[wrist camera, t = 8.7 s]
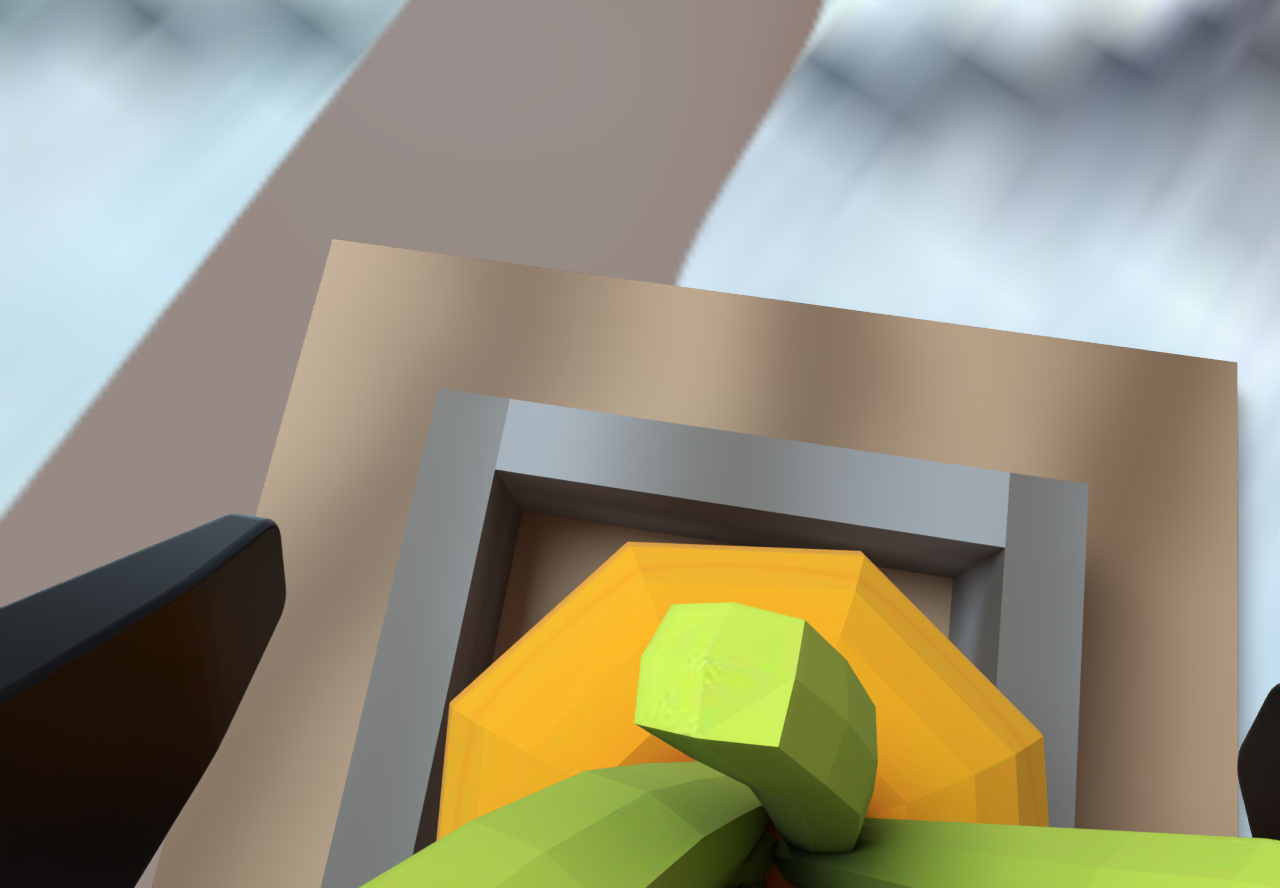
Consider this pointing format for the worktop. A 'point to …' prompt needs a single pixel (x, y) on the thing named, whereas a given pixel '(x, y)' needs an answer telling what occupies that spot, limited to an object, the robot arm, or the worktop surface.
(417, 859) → the carrot
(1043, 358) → the socket base
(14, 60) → the worktop surface
